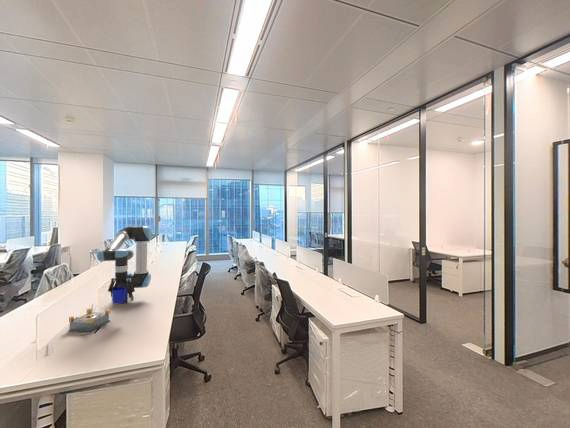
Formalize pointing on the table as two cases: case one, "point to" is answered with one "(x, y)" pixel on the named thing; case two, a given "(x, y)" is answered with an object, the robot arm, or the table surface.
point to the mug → (119, 295)
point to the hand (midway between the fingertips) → (121, 301)
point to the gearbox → (89, 321)
